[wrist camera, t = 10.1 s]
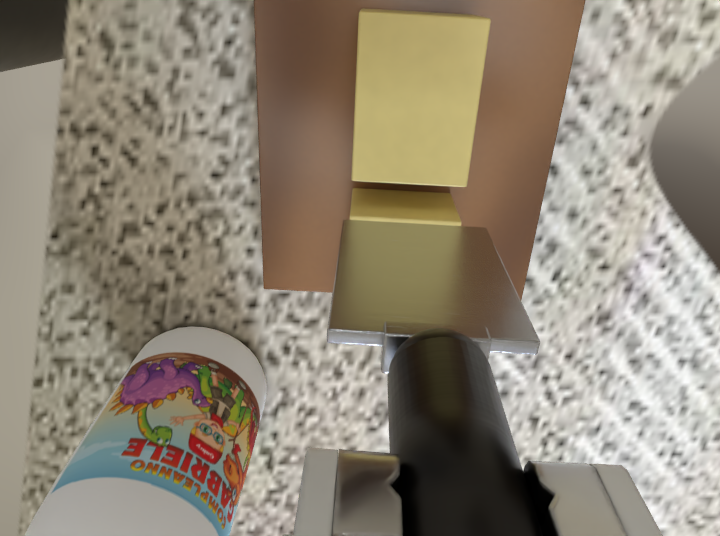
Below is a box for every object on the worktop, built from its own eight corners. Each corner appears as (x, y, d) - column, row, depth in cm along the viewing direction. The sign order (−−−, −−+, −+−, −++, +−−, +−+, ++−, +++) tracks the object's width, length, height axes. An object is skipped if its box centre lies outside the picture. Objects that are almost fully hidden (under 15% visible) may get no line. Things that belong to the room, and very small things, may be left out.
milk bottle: (235, 444, 34) (83, 938, 16) (118, 393, 32) (-193, 880, 15) (292, 360, 31) (182, 854, 13) (166, 298, 29) (-153, 768, 12)
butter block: (354, 157, 24) (351, 181, 21) (361, 8, 21) (358, 10, 18) (454, 163, 24) (466, 188, 21) (474, 14, 21) (491, 18, 18)
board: (268, 275, 29) (263, 289, 27) (256, -146, 21) (248, -156, 19) (514, 288, 29) (521, 303, 27) (598, -126, 21) (614, -134, 19)
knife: (341, 252, 19) (260, 884, 6) (343, 194, 18) (251, 785, 5) (480, 260, 19) (739, 911, 6) (490, 202, 18) (833, 819, 5)
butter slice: (350, 231, 26) (347, 264, 23) (352, 187, 25) (349, 215, 22) (445, 236, 26) (454, 270, 23) (450, 192, 25) (462, 221, 22)
